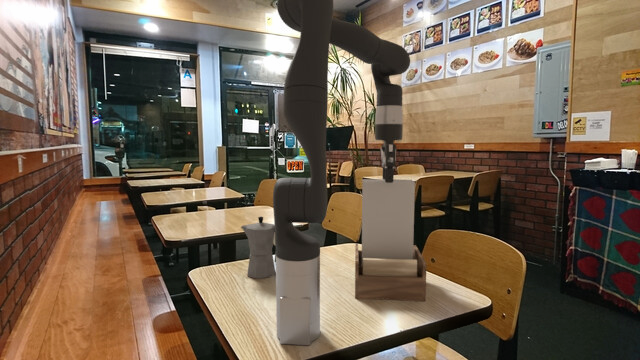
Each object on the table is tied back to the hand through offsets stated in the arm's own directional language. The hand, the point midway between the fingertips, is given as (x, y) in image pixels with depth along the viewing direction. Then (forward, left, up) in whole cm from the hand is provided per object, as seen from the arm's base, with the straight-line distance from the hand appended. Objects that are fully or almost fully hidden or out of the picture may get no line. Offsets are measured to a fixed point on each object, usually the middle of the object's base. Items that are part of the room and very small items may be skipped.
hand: (387, 181), depth 101 cm
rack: (-3, 0, -30) cm, 30 cm away
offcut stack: (-8, 0, -30) cm, 31 cm away
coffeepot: (+4, +37, -30) cm, 48 cm away
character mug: (+14, +33, -30) cm, 47 cm away
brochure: (0, 0, -30) cm, 30 cm away
